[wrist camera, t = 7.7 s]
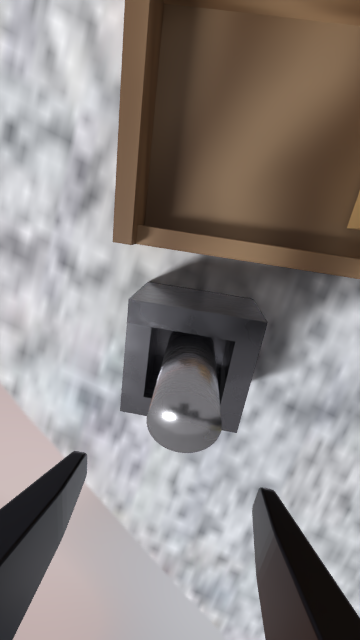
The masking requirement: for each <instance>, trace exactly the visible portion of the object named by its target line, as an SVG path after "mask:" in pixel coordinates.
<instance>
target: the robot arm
mask: <svg viewBox="0 0 360 640" xmlns="http://www.w3.org/2000/svg"><path fill="white" fill-rule="evenodd" d="M86 474H87V454H86V453H84V452H79V451H74V452H72V453H70V454H69V455H68V456H67V457H65V458H64V459H63V460H62V461H60V462H59V463H58V464H57V465H55V466H54V467H53V468H52V469H50V470H49V471H48V472H47V473H45V474H44V475H43V476H41V477H40V478H39V479H38V480H36V481H35V482H34V483H33V484H31V485H30V486H29V487H28V488H26V489H25V490H24V491H23V492H21V493H20V494H19V495H18V496H16V497H15V498H14V499H13V500H11V501H10V502H9V503H7V504H6V505H5V506H4V507H2V508H1V509H0V640H12V639H13V638H14V635H15V633H16V631H17V629H18V627H19V625H20V623H21V621H22V619H23V617H24V615H25V613H26V611H27V609H28V607H29V605H30V603H31V601H32V599H33V597H34V595H35V593H36V591H37V589H38V587H39V585H40V583H41V581H42V578H43V577H44V574H45V572H46V570H47V568H48V566H49V564H50V562H51V560H52V558H53V556H54V554H55V552H56V550H57V548H58V546H59V544H60V541H61V539H62V537H63V535H64V532H65V530H66V528H67V525H68V523H69V520H70V517H71V515H72V512H73V510H74V507H75V504H76V502H77V499H78V497H79V494H80V491H81V489H82V486H83V484H84V481H85V478H86ZM252 515H253V532H254V548H255V564H256V577H257V585H258V592H259V599H260V605H261V612H262V618H263V625H264V632H265V638H266V640H360V618H359V616H358V615H357V613H356V612H355V610H354V609H353V607H352V606H351V604H350V603H349V601H348V600H347V598H346V597H345V595H344V594H343V592H342V591H341V589H340V588H339V586H338V585H337V583H336V582H335V580H334V579H333V577H332V576H331V574H330V573H329V571H328V570H327V568H326V567H325V565H324V564H323V562H322V561H321V559H320V558H319V557H318V555H317V554H316V552H315V551H314V549H313V548H312V546H311V545H310V543H309V542H308V540H307V539H306V537H305V536H304V534H303V533H302V531H301V530H300V528H299V527H298V525H297V524H296V522H295V521H294V519H293V518H292V516H291V515H290V513H289V512H288V510H287V509H286V507H285V506H284V504H283V503H282V501H281V500H280V498H279V497H278V495H277V494H276V492H275V491H274V490H272V489H267V488H259V490H258V493H257V496H256V498H255V501H254V504H253V510H252Z"/></svg>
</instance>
